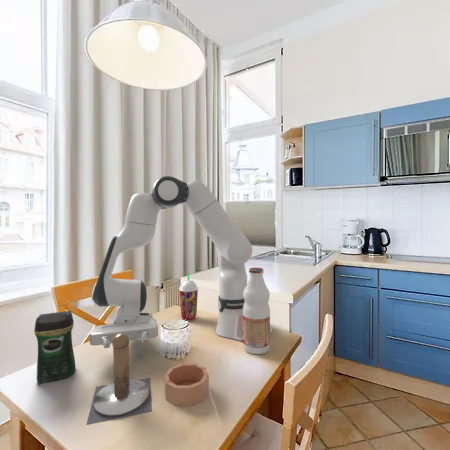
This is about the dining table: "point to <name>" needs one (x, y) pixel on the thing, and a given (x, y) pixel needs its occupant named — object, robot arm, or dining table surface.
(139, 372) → the dining table surface
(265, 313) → the fruit juice
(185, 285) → the smoothie
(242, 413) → the dining table surface
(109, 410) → the peg on round base
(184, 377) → the bowl
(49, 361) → the coffee jar
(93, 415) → the mat
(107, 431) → the dining table surface
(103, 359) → the dining table surface
